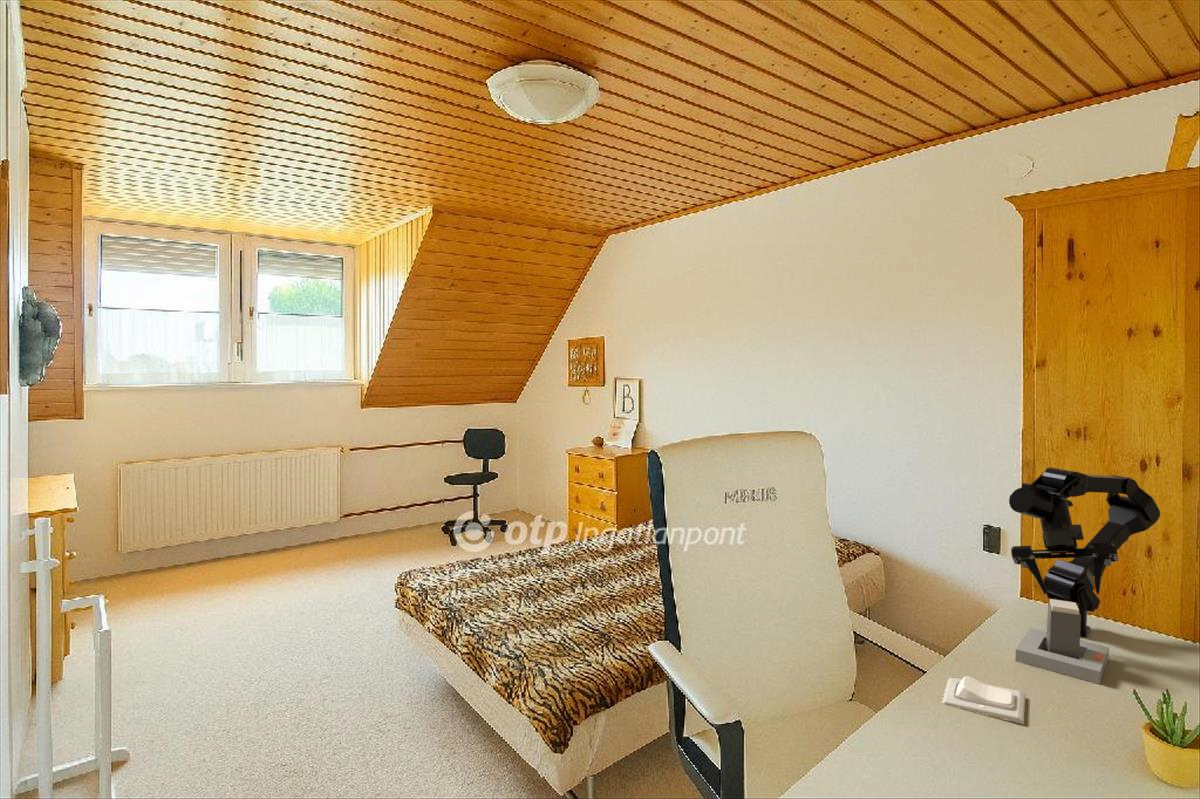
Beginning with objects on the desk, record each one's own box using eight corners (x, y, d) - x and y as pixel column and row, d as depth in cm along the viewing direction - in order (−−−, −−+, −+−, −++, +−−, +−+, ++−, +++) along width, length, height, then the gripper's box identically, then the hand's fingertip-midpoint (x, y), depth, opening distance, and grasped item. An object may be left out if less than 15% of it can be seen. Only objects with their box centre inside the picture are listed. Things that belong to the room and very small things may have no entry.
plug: (1046, 652, 137) (1048, 598, 136) (1074, 657, 134) (1077, 602, 134) (1049, 662, 132) (1051, 606, 132) (1078, 667, 130) (1081, 610, 129)
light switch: (947, 664, 126) (1024, 679, 119) (948, 685, 127) (1025, 700, 119) (940, 688, 118) (1023, 705, 110) (941, 710, 118) (1024, 729, 110)
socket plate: (1029, 638, 143) (1029, 626, 143) (1108, 658, 134) (1109, 646, 133) (1015, 660, 133) (1015, 647, 133) (1099, 684, 124) (1100, 670, 123)
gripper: (1002, 514, 142) (1014, 585, 135) (1107, 507, 132) (1126, 584, 124) (1009, 529, 150) (1021, 597, 143) (1108, 524, 139) (1127, 597, 132)
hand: (1071, 593), depth 135 cm, fingers open, 9 cm apart
